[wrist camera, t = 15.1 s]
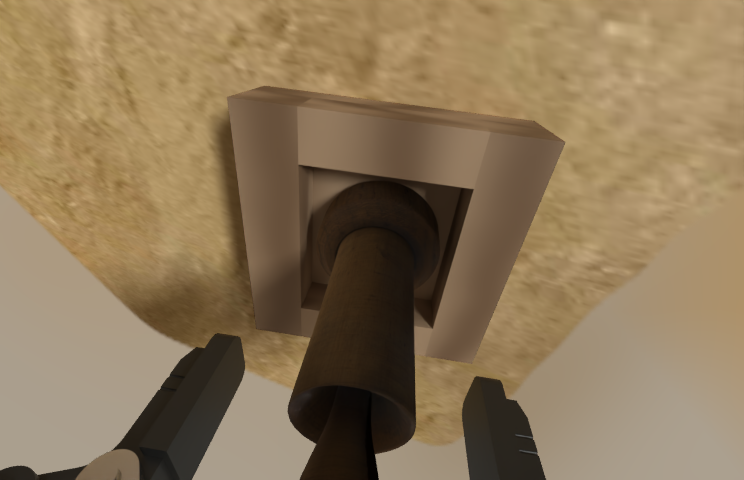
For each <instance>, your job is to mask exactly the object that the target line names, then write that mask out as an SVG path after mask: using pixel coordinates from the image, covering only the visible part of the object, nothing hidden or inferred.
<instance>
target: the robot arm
mask: <svg viewBox="0 0 744 480" xmlns="http://www.w3.org/2000/svg"><path fill="white" fill-rule="evenodd" d="M244 370H245V361H244V355H243V349H242V343H241V339H240V337H238V336H232V335H226V334H219V333H217V334H215V335H214V336H213V337H212V338H211V340H210V341H209V343H208V344H207V346H206V347H205V348H199V347H196V348H195V349H193V350H192V351H191V352H190V353H188V354H187V355H186V356H185V357H183V358H182V359H181V360H180V361H179V363H178V364H177V365H176V367H175V368H174V369H173V371H172V372H171V374H170V376H169V377H168V378H167V379H166V380H165V382H164V383H163V385H162V386H161V389H160V390H158V391H157V393H156V394H155V396H154V397H153V398H152V400H151V401H150V402H149V404H148V405H147V407H146V408H145V409H144V411H143V412H142V413H141V415H140V416H139V418H138V419H137V420H136V422H135V423H134V424H133V426H132V427H131V429H130V430H129V431H128V433H127V434H126V435H125V437H124V438H123V439H122V441H121V442H120V443H119V444H118V445H117V446H116V447H115V448H114V449H113V450H112V451H110V452H107V453H105V454H104V455H101V456H99V457H98V458H96V459H95V460H93V461H92V462H91V463H89V464H88V465H86V466H83V467H79V468H73V469H68V470H63V471H57V472H52V473H46V474H41V475H37V474H36V473H35V472H34V471H33V470H32V469H30V468H28V467H26V466H13V467H9V468H6V469H3V470H0V480H192V478H193V476H194V474H195V472H196V470H197V468H198V466H199V464H200V462H201V460H202V458H203V456H204V454H205V452H206V450H207V448H208V446H209V444H210V442H211V441H212V439H213V437H214V434H215V432H216V430H217V429H218V427H219V425H220V423H221V421H222V419H223V417H224V415H225V413H226V411H227V409H228V407H229V405H230V403H231V401H232V399H233V397H234V395H235V393H236V391H237V389H238V387H239V385H240V383H241V381H242V378H243V375H244ZM462 421H463V429H464V437H465V445H466V453H467V460H468V468H469V476H470V480H546V478H545V475H544V472H543V469H542V465H541V462H540V458H539V456H538V455H537V448H536V445H535V442H534V440H533V435H532V432H531V428H530V425H529V422H528V418H527V417H526V415H525V413H524V412H523V410H522V409H521V407H520V406H519V404H518V403H517V401H515V400H509V399H506V396H505V392H504V389H503V385H502V383H501V381H500V380H497V379H491V378H485V377H479V376H476V377H475V378H474V380H473V382H472V384H471V387H470V389H469V391H468V393H467V396H466V398H465V400H464V403H463V409H462Z"/></svg>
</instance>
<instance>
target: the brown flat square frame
mask: <svg viewBox="0 0 744 480" xmlns="http://www.w3.org/2000/svg"><path fill="white" fill-rule="evenodd" d="M227 100H228V108H229V116H230V124H231V132H232V140H233V148H234V155H235V163H236V171H237V179H238V187H239V195H240V203H241V211H242V219H243V227H244V235H245V243H246V251H247V258H248V266H249V274H250V282H251V290H252V298H253V306H254V314H255V322H256V329H260V330H267V331H273V332H279V333H285V334H291V335H297V336H304V337H310V338H311V336H312V333H313V330H314V327H315V324H316V321H317V318H318V315H319V311H320V308H321V305H322V302H323V299H324V296H325V293H326V289H327V286H328V283H329V280H330V276H329V275H328V274H327V273H326V272H325V270H324V269H323V267H322V265H321V263H320V261H319V258H318V255H317V250H316V240H317V235H318V231H319V228H320V226H321V224H322V221H323V219H324V216H325V214H326V211H327V209H328V208H329V206H330V204H331V203H332V202H333V200H334V199H335V198H336V197H337V196H338V195H339V194H341V193H342V192H343V191H345V190H346V189H348V188H350V187H352V186H354V185H357V184H360V183H363V182H371V181H390V182H395V183H398V184H401V185H404V186H406V187H408V188H410V189H412V190H414V191H415V192H417V193H418V194H419V195H420V196H421V197H422V198H424V200H425V201H426V202H427V203H428V204H429V206H430V207H431V209H432V210H433V212H434V215H435V217H436V220H437V224H438V231H439V240H440V257H439V261H438V264H437V267H436V269H435V271H434V272H433V274H432V275H431V277H430V278H429V279H428V280H427V281H426V282H425V283H424V284H423V285H421V286H420V287H418V288H417V289H415V290H414V350H415V354H414V355H421V356H427V357H433V358H439V359H445V360H451V361H458V362H464V363H470V364H472V363H473V360H474V358H475V355H476V353H477V351H478V348H479V346H480V344H481V341H482V339H483V337H484V334H485V332H486V329H487V327H488V325H489V322H490V320H491V318H492V315H493V313H494V310H495V308H496V306H497V303H498V301H499V299H500V296H501V294H502V292H503V289H504V287H505V284H506V282H507V280H508V277H509V275H510V273H511V270H512V268H513V266H514V263H515V261H516V258H517V256H518V254H519V251H520V249H521V247H522V244H523V242H524V239H525V237H526V235H527V232H528V230H529V228H530V225H531V223H532V221H533V218H534V216H535V213H536V211H537V209H538V206H539V204H540V202H541V199H542V197H543V194H544V192H545V190H546V187H547V185H548V183H549V180H550V178H551V176H552V173H553V171H554V168H555V166H556V164H557V161H558V159H559V157H560V154H561V152H562V150H563V147H564V145H565V141H563V140H562V139H560V138H559V137H557V136H556V135H554V134H553V133H551V132H550V131H548V130H547V129H545V128H544V127H542V126H541V125H539V124H538V123H536V122H535V121H529V120H522V119H514V118H506V117H499V116H491V115H483V114H476V113H468V112H460V111H453V110H445V109H438V108H430V107H422V106H415V105H407V104H399V103H392V102H384V101H376V100H369V99H361V98H354V97H346V96H338V95H331V94H323V93H315V92H308V91H300V90H292V89H285V88H277V87H270V86H262V87H259V88H256V89H252V90H249V91H246V92H242V93H239V94H236V95H232V96H229V97H227Z"/></svg>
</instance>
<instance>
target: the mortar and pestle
mask: <svg viewBox="0 0 744 480" xmlns="http://www.w3.org/2000/svg"><path fill="white" fill-rule="evenodd" d="M316 250H317V255H318V258H319V261H320V263H321V265H322V267H323V269H324V270H325V272H326V273H327V274H328V275H329V276H330V280H329V283H328V286H327V289H326V293H325V296H324V299H323V302H322V305H321V308H320V311H319V315H318V318H317V321H316V324H315V327H314V330H313V333H312V336H311V339H310V342H309V345H308V348H307V351H306V354H305V357H304V360H303V363H302V366H301V369H300V372H299V375H298V377H297V380H296V383H295V386H294V389H293V392H292V395H291V399H290V402H289V405H288V414H289V419H290V421H291V423H292V424H293V426H294V427H295V428H296V429H297V430H298V431H299V432H300V433H301V434H302V435H303V436H304V437H306V438H307V439H309V440H311V441H313V442H314V443H316V446H315V448H314V451H313V452H312V454H311V456H310V458H309V460H308V463H307V465H306V467H305V469H304V471H303V473H302V475H301V477H300V480H379V478H378V471H377V465H376V458H375V454H378V453H382V452H387V451H391V450H393V449H396V448H399V447H400V446H402V445H404V444H405V443H407V442H408V441H409V440H410V439H411V438H412V436H413V435H414V432H415V428H416V405H415V355H414V354H415V350H414V290H415V289H417V288H418V287H420V286H421V285H423V284H424V283H425V282H426V281H427V280H428V279H429V278H430V277H431V275H432V274H433V272H434V271H435V269H436V267H437V264H438V261H439V257H440V240H439V231H438V224H437V220H436V217H435V215H434V212H433V210H432V209H431V207H430V206H429V204H428V203H427V202H426V201H425V200H424V198H422V197H421V196H420V195H419V194H418V193H417V192H415V191H414V190H412V189H410V188H408V187H406V186H404V185H401V184H398V183H395V182H390V181H371V182H363V183H360V184H357V185H354V186H352V187H350V188H348V189H346V190H345V191H343V192H342V193H341V194H339V195H338V196H337V197H336V198H335V199H334V200H333V202H332V203H331V204H330V206H329V208H328V209H327V211H326V214H325V216H324V219H323V221H322V224H321V226H320V228H319V231H318V235H317V240H316Z"/></svg>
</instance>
